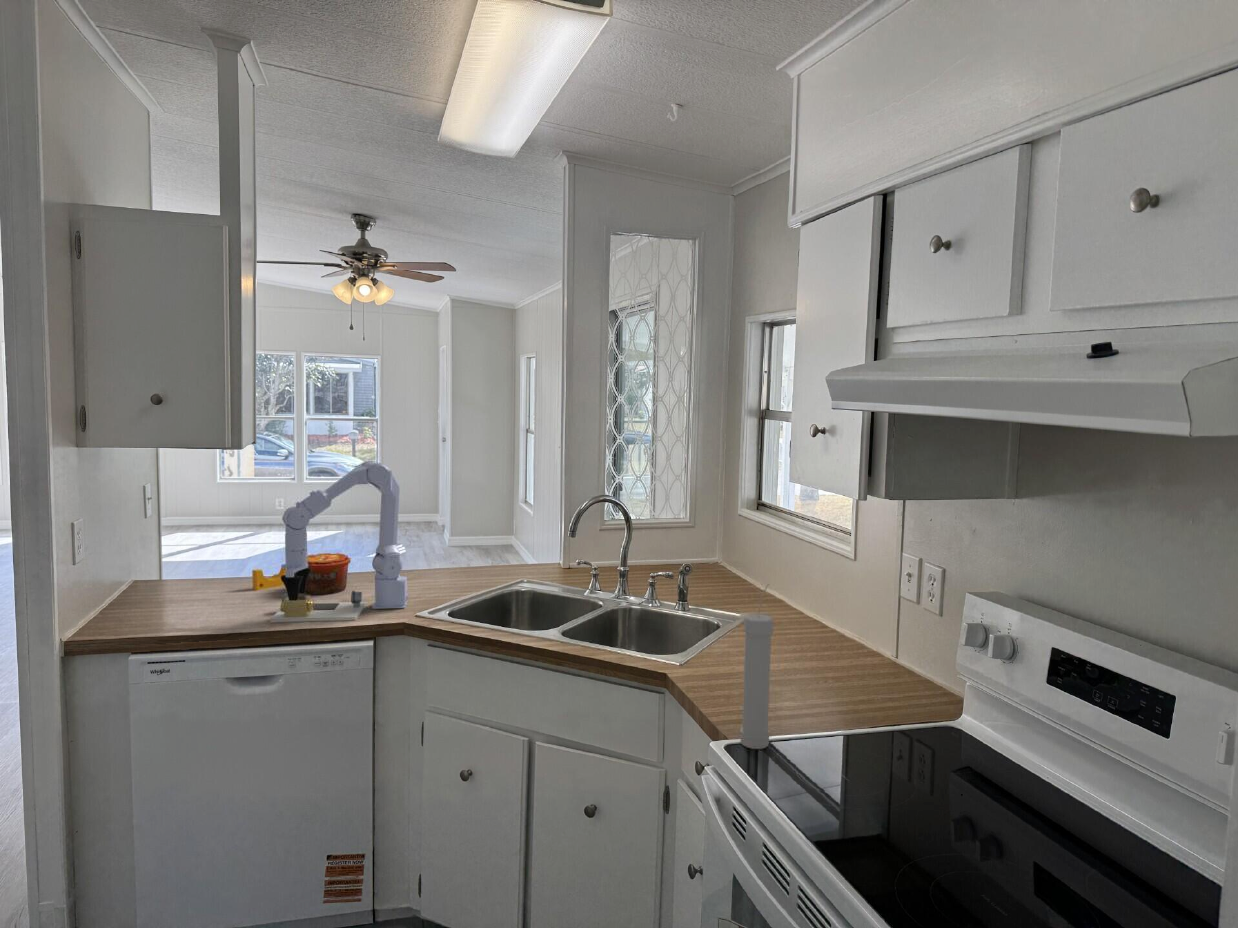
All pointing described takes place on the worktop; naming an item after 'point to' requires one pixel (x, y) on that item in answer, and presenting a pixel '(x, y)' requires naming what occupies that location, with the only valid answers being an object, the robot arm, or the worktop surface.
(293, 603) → the brass valve
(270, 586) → the pipe clamp
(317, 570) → the food container
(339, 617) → the pipe board
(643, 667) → the worktop surface
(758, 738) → the grey piece
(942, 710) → the worktop surface
